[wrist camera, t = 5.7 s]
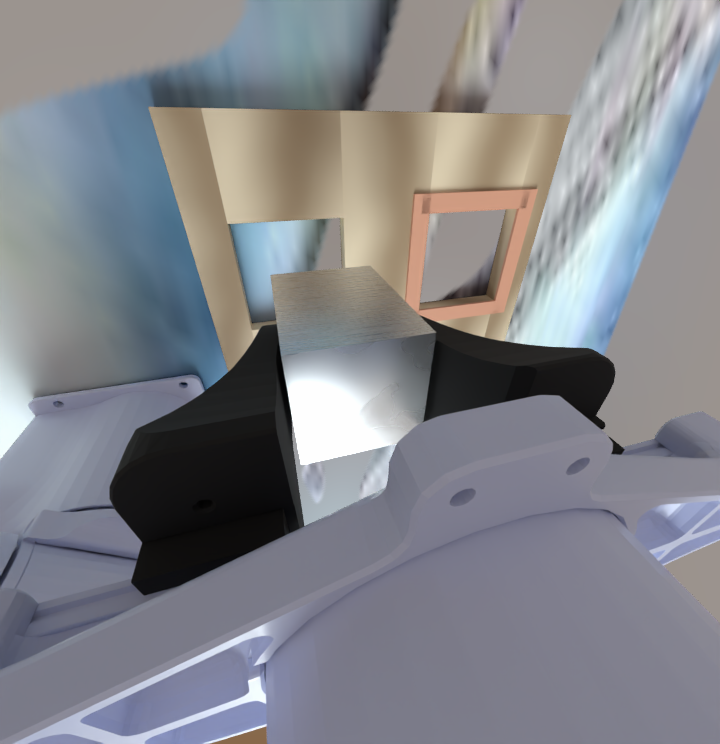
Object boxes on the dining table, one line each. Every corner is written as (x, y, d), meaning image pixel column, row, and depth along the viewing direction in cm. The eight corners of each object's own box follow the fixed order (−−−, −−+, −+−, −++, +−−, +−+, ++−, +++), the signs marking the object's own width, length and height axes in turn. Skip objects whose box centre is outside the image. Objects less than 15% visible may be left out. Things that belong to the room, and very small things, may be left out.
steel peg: (285, 361, 14) (301, 464, 10) (270, 274, 12) (280, 355, 7) (369, 348, 15) (420, 438, 11) (370, 265, 13) (436, 332, 8)
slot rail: (235, 384, 22) (234, 394, 21) (154, 109, 14) (146, 106, 13) (494, 343, 27) (503, 350, 26) (557, 116, 18) (574, 114, 17)
